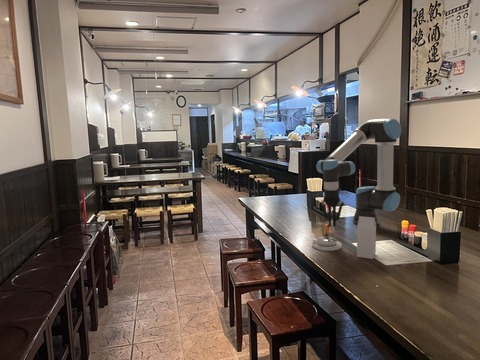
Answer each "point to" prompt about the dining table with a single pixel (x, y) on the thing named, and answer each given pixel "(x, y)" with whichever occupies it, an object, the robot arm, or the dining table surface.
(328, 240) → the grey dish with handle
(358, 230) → the milk carton
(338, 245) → the plate
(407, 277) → the dining table surface
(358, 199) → the robot arm
